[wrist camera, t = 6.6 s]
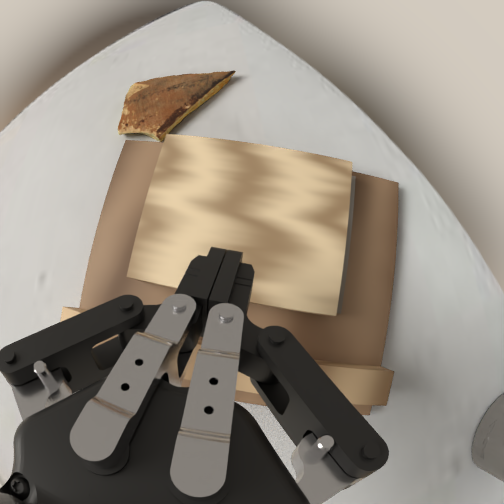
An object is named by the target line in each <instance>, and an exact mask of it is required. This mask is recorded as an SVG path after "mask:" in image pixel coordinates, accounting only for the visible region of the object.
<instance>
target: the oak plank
mask: <svg viewBox="0 0 504 504" xmlns="http://www.w3.org/2000/svg"><path fill="white" fill-rule="evenodd" d="M351 178H352V162H350V161H346V160H341V159H337V158H332V157H327V156H323V155H318V154H313V153H307V152H302V151H297V150H291V149H285V148H280V147H273V146H267V145H261V144H254V143H247V142H240V141H232V140H224V139H216V138H207V137H197V136H186V135H175V134H166V137H165V140H164V143H163V146H162V149H161V152H160V155H159V158H158V161H157V164H156V167H155V170H154V174H153V177H152V180H151V183H150V187H149V190H148V193H147V197H146V200H145V204H144V208H143V211H142V215H141V219H140V222H139V226H138V230H137V234H136V238H135V242H134V246H133V250H132V255H131V259H130V263H129V268H128V273H127V277H129V278H132V279H135V280H138V281H142V282H147V283H151V284H156V285H161V286H165V287H170V288H175V289H177V288H178V286H179V284H180V282H181V280H182V278H183V276H184V275H185V272H186V270H187V269H188V266H189V264H190V262H191V260H193V259H194V258H195V257H197V256H198V255H202V256H207V255H208V253H209V250H210V248H211V247H217V248H222V249H227V250H234V251H239V252H243V258H242V263H246V264H251V265H252V266H253V269H254V271H255V274H254V280H253V286H252V293H251V298H250V303H252V304H257V305H263V306H269V307H275V308H281V309H287V310H293V311H299V312H305V313H312V314H318V315H325V316H336V313H337V307H338V300H339V293H340V286H341V279H342V272H343V264H344V255H345V247H346V237H347V228H348V217H349V206H350V193H351Z"/></svg>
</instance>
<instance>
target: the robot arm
mask: <svg viewBox="0 0 504 504" xmlns="http://www.w3.org/2000/svg"><path fill="white" fill-rule="evenodd" d="M242 258H243V252H239V251H234V250H227V249H222V248H217V247H211V248H210V250H209V253H208V255H207V256H202V255H198V256H197V257H195V258H194V259H193V260H191V262H190V264H189V266H188V269H187V270H186V272H185V275H184V276H183V278H182V280H181V282H180V284H179V286H178V288H177V290H176V292H175V294H174V295H171V296H169V297H167V298H166V299H165V300H164V301H163V303H162V304H158V305H143V302H142V300H141V299H140V298H139V297H137V296H134V295H122V296H119V297H117V298H115V299H112V300H110V301H108V302H105V303H103V304H101V305H98V306H96V307H94V308H91V309H89V310H87V311H85V312H82V313H80V314H78V315H75V316H73V317H71V318H69V319H66V320H64V321H62V322H59V323H57V324H55V325H53V326H50V327H48V328H46V329H43V330H41V331H39V332H37V333H34V334H32V335H30V336H28V337H25V338H23V339H21V340H19V341H16V342H14V343H12V344H10V345H7V346H5V347H4V348H3V349H1V351H0V371H1V373H2V374H3V375H4V377H5V378H6V380H7V382H8V383H9V384H10V386H11V387H12V390H13V393H14V396H15V399H16V402H17V405H18V408H19V411H20V414H21V416H22V419H23V421H22V422H21V424H20V425H19V426H18V428H17V430H16V433H15V436H14V463H13V470H12V474H11V476H10V478H9V480H8V481H7V482H6V483H5V484H4V486H2V487H1V488H0V504H322V503H323V502H325V501H326V500H328V499H329V498H331V497H332V496H334V495H335V494H337V493H338V492H340V491H341V490H344V489H346V488H348V487H350V486H352V485H354V484H355V483H357V482H359V481H360V480H362V479H364V478H365V477H367V476H369V475H370V474H372V473H373V472H375V471H377V470H378V469H380V468H381V467H382V466H384V464H385V463H386V461H387V459H388V456H389V450H388V446H387V444H386V443H385V441H384V440H383V439H382V438H381V437H380V436H379V434H378V433H377V432H376V431H375V430H374V429H373V428H372V426H371V425H370V424H369V423H368V422H367V421H366V420H365V418H364V417H363V416H362V415H361V414H360V413H359V412H358V410H357V409H356V408H355V407H354V406H353V405H352V404H351V402H350V401H349V400H348V399H347V398H346V397H345V395H344V394H343V393H342V392H341V391H340V390H339V388H338V387H337V386H336V385H335V384H334V383H333V381H332V380H331V379H330V378H329V377H328V376H327V374H326V373H325V372H324V371H323V370H322V369H321V367H320V366H319V365H318V364H317V363H316V362H315V360H314V359H313V358H312V357H311V356H310V354H309V353H308V352H307V351H306V350H305V349H304V347H303V346H302V345H301V344H300V343H299V341H298V340H297V339H296V338H295V337H294V335H293V334H292V333H291V332H290V331H289V330H287V329H286V328H284V327H281V326H268V327H265V328H264V329H263V328H260V327H258V326H256V325H255V324H253V323H252V322H251V321H250V320H249V319H248V317H247V312H248V307H249V303H250V298H251V293H252V286H253V280H254V274H255V271H254V269H253V266H252V265H251V264H246V263H242ZM117 334H118V336H117V337H115V338H113V339H111V340H109V341H107V342H105V343H102V344H100V345H98V346H96V347H94V346H95V345H96V344H98V343H100V342H102V341H105V340H107V339H109V338H111V337H113V336H115V335H117ZM200 337H203V340H202V345H201V349H199V350H198V352H197V356H196V360H195V364H194V369H193V373H192V378H191V382H190V386H189V387H181V385H182V382H183V379H184V377H185V375H186V373H187V370H188V368H189V366H190V364H191V361H192V359H193V357H194V355H195V352H196V349H197V343H198V340H199V338H200ZM93 347H94V348H93ZM238 372H240V373H242V374H244V375H246V376H248V377H250V381H251V383H252V385H253V386H254V388H255V389H256V390H257V392H258V393H259V395H260V396H261V398H262V399H263V401H264V402H265V404H266V405H267V406H268V408H269V409H270V411H271V412H272V414H273V415H274V416H275V418H276V419H277V421H278V422H279V423H280V425H281V426H282V428H283V429H284V430H285V432H286V433H287V434H288V436H289V437H290V439H291V440H292V441H293V443H294V444H295V445H296V449H295V450H294V451H293V453H292V456H291V462H292V465H293V467H294V469H295V472H296V481H295V480H294V478H293V477H292V475H291V474H290V473H289V471H288V470H287V468H286V467H285V465H284V464H283V462H282V461H281V459H280V458H279V456H278V454H277V453H276V451H275V450H274V448H273V447H272V445H271V444H270V442H269V441H268V439H267V437H266V436H265V434H264V433H263V431H262V429H261V428H260V426H259V425H258V423H257V421H256V420H255V419H254V417H253V416H252V415H251V414H250V413H249V412H248V411H247V410H246V409H245V408H244V407H242V406H241V405H239V404H237V403H236V402H234V400H235V392H236V383H237V375H238ZM75 392H76V393H75ZM73 393H74V394H73ZM71 394H72V395H71ZM472 459H473V461H474V463H475V464H476V466H477V467H479V468H481V469H483V470H484V471H486V472H488V473H489V474H491V475H493V476H495V477H496V478H498V479H500V480H501V481H503V482H504V394H502V395H501V396H500V397H499V398H498V399H497V400H496V401H495V402H494V403H493V404H492V405H491V406H490V408H489V409H488V410H487V412H486V413H485V415H484V417H483V418H482V420H481V422H480V424H479V426H478V429H477V431H476V434H475V437H474V441H473V445H472Z"/></svg>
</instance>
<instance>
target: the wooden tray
mask: <svg viewBox="0 0 504 504" xmlns="http://www.w3.org/2000/svg"><path fill="white" fill-rule="evenodd" d="M162 146H163V142H150V141H134V140H126V141H125V143H124V146H123V149H122V151H121V154H120V157H119V160H118V162H117V165H116V168H115V171H114V174H113V177H112V180H111V183H110V186H109V189H108V192H107V195H106V199H105V202H104V205H103V209H102V212H101V215H100V219H99V223H98V226H97V230H96V234H95V238H94V241H93V245H92V249H91V254H90V258H89V262H88V267H87V271H86V276H85V281H84V286H83V291H82V296H81V302H80V308H73V307H63V309H62V315H61V322H62V321H64V320H66V319H69V318H71V317H73V316H75V315H78V314H80V313H82V312H85V311H87V310H89V309H91V308H94V307H96V306H98V305H101V304H103V303H105V302H108V301H110V300H112V299H115V298H117V297H119V296H122V295H134V296H137V297H139V298H140V299H141V300H142V302H143V305H158V304H162V303H163V301H164V300H165V299H166V298H167V297H169V296H171V295H174V294H175V292H176V290H177V289H175V288H170V287H165V286H161V285H156V284H151V283H147V282H142V281H138V280H135V279H132V278H129V277H127V273H128V268H129V263H130V259H131V255H132V250H133V246H134V242H135V238H136V234H137V230H138V226H139V222H140V219H141V215H142V211H143V208H144V204H145V200H146V197H147V193H148V190H149V187H150V183H151V180H152V177H153V174H154V170H155V167H156V164H157V161H158V158H159V155H160V152H161V149H162ZM397 227H398V183H397V182H393V181H390V180H386V179H382V178H378V177H374V176H370V175H366V174H361V173H357V172H353V171H352V178H351V193H350V206H349V217H348V228H347V237H346V247H345V255H344V264H343V272H342V279H341V286H340V293H339V300H338V307H337V313H336V316H325V315H318V314H312V313H305V312H299V311H293V310H287V309H281V308H275V307H269V306H263V305H257V304H252V303H249V307H248V312H247V317H248V319H249V320H250V321H251V322H252V323H253V324H255V325H256V326H258V327H260V328H263V329H264V328H265V327H268V326H281V327H284V328H286V329H287V330H289V331H290V332H291V333H292V334H293V335H294V337H295V338H296V339H297V340H298V341H299V343H300V344H301V345H302V346H303V347H304V349H305V350H306V351H307V352H308V353H309V354H310V356H311V357H312V358H313V359H314V360H315V362H316V363H317V364H318V365H319V366H320V367H321V369H322V370H323V371H324V372H325V373H326V374H327V376H328V377H329V378H330V379H331V380H332V381H333V383H334V384H335V385H336V386H337V387H338V388H339V390H340V391H341V392H342V393H343V394H344V395H345V397H346V398H347V399H348V400H349V401H350V402H351V404H352V405H353V406H354V407H355V408H356V409H357V410H358V412H359V413H360V414H361V415H370V411H371V407H372V405H383V406H386V405H387V401H388V397H389V393H390V388H391V384H392V379H393V374H394V371H391V370H389V369H386V368H383V367H381V362H382V357H383V351H384V346H385V340H386V334H387V327H388V321H389V314H390V306H391V299H392V290H393V281H394V271H395V259H396V245H397ZM117 336H118V334H117V335H115V336H113V337H111V338H109V339H107V340H105V341H102V342H100V343H98V344H96V345H95V346H94V347H96V346H98V345H100V344H102V343H105V342H107V341H109V340H111V339H113V338H115V337H117ZM202 340H203V337H200V338H199V340H198V343H197V349H196V352H195V355H194V357H193V359H192V361H191V364H190V366H189V368H188V370H187V373H186V375H185V377H184V379H183V382H182V385H181V387H189V386H190V382H191V378H192V373H193V369H194V364H195V360H196V356H197V352H198V350H199V349H201V345H202ZM94 347H93V348H94ZM234 401H239V402H245V403H251V404H257V405H263V406H267V405H266V404H265V402H264V401H263V399H262V398H261V396H260V395H259V393H258V392H257V390H256V389H255V388H254V386H253V385H252V383H251V381H250V377H248V376H246V375H244V374H242V373H240V372H238V375H237V383H236V392H235V400H234Z"/></svg>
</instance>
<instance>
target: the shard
mask: <svg viewBox="0 0 504 504" xmlns="http://www.w3.org/2000/svg"><path fill="white" fill-rule="evenodd" d="M234 73H235V71H229V72H213V73H205V74H204V73H203V74H183V75H177V76H175V75H173V76H167V77H161V78H154V79H150V80H147V81H143V82H137V83H135V84H133V85H132V86H131V87H130V88H129V91H128V93H127V95H126V97H125V102H124V107H123V111H122V116H121V120H120V122H119V126H118V133H119V135H122V134H127V133H142V134H145V135H147V136H149V137H151V138H153V139H156V140H157V141H160V142H162V141H163V140H164V139H165V137H166V134H169V132H170V131H171V130H172V129H173V128H174V127H175V126H176V125H177V124H178V123H180V122H181V121H182V120H183V118H184V117H186V116H187V115H188V114H189V113H191V112H192V111H194V110H195V109H197V108H198V107H199V106H200V105H202V104H203V103H204V102H205V101H207V100H208V99H210V98H211V97H212V96H213V95H214V94H216V93H217V92H218V91H219V90H220V89H222V87H223V86H224V85H225V84H227V83H228V81H229V80H230V78H231V76H232V75H233V74H234Z"/></svg>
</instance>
